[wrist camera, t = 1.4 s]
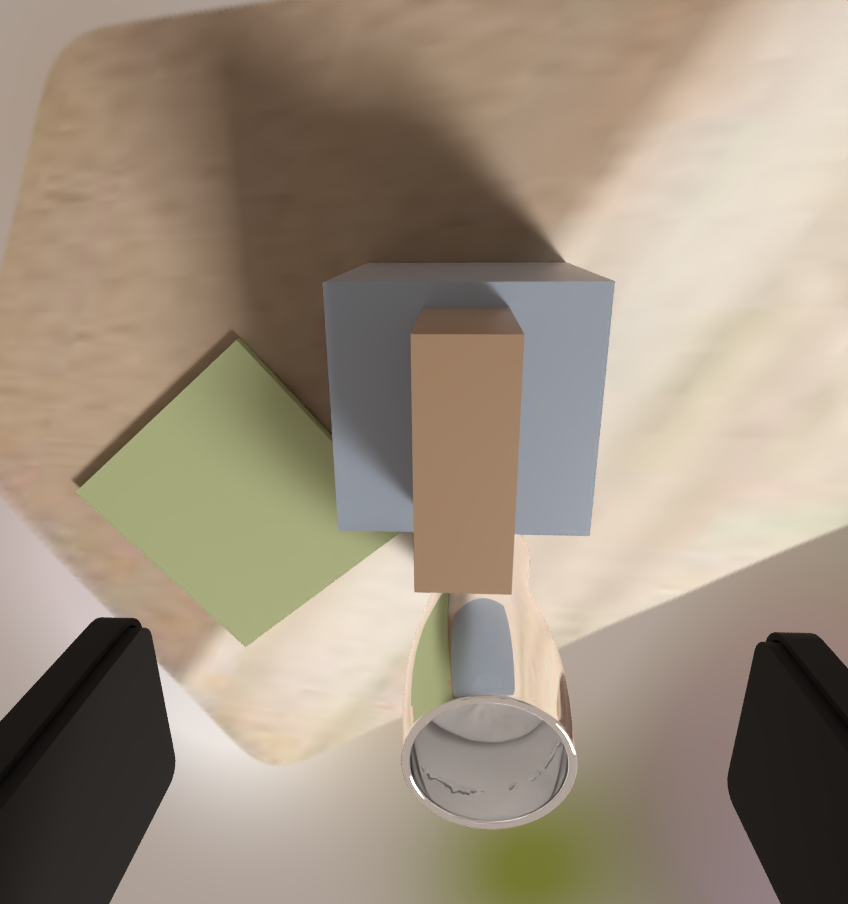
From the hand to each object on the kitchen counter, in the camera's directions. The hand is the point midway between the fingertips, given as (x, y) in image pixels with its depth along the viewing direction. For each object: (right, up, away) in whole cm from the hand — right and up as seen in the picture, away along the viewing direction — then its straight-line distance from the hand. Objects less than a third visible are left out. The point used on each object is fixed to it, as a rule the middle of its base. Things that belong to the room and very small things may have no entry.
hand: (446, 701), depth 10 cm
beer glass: (+3, -2, +27) cm, 28 cm away
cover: (+2, +9, +23) cm, 25 cm away
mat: (-11, +1, +27) cm, 29 cm away
